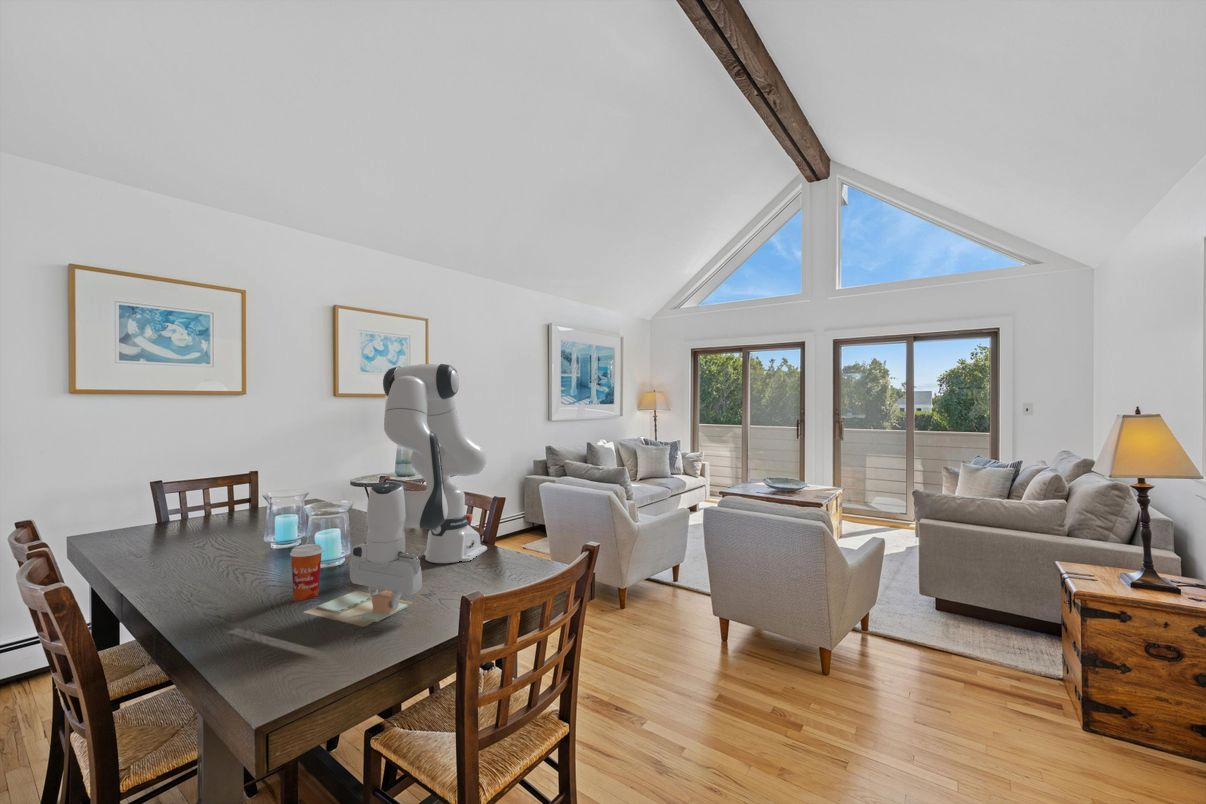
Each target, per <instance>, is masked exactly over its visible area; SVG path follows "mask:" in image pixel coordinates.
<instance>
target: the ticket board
mask: <svg viewBox="0 0 1206 804" xmlns="http://www.w3.org/2000/svg"><path fill="white" fill-rule="evenodd" d="M399 603H401V604H406V605H408V606H410V605H411V604H413V603H414V602H413V601H409V600H403V599H399ZM372 611H373V604H372V597H371V595H370V593H369V592H364V591H359V590H355V591H351V592H349V593H347V594H343V595H342V596H339V597H336V598H334V599H331V600H329V601H327V602H323V603H321V604H319V605H317V606H314V607H312V608H310V609H307V610H305V611H303V613H304V614H309V615H313V616H317V617H320V618H321V617H322V618H324V619H325V618H326V619H329V620H333V621H338V622H342V623H345V624H349V625H354V626H359V627H367V626H368V625H371V624H373V623H375V622H374V621H370V620H366V619H361V616H363V615H365V614H367V613H370V612H372Z"/></svg>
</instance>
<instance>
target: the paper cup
mask: <svg viewBox="0 0 1206 804" xmlns="http://www.w3.org/2000/svg"><path fill="white" fill-rule="evenodd" d="M323 552H324V549H323V547H322V546H321V545H320V544H318V543H315V544H314V543H308V544H301V545H298V546H294V547H293V548H292V549H291V552H290V553H289V555H290V559H291V560H290V561H291V575H292V576H291V577H292V579H291V580H292V594H293V602H297V601H301V600H309V599H313V598H316V597H317V596H318V595H319V591H320V589H319V588H320V580H321V568H322V567H321V565H322V553H323Z"/></svg>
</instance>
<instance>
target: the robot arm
mask: <svg viewBox="0 0 1206 804" xmlns="http://www.w3.org/2000/svg"><path fill="white" fill-rule="evenodd" d="M459 386H460V378H459V374H458V371H457V370H456V368H454V366H452V365H450V364H445V363H444V364H443V363H441V364H433V363H428V364H427V363H420V364H415V365H414V364H413V365H407V366H404V365H403V366H394V367H391V368H389V369H388V370H387V371H386V372H385V374H384V375H383V379H382V387H383V391H384V394H385V395H386V396H387V399H386V402H385V403H386V405H385V410H384V421H383V428H384V429H383V431H384V432H385V434H386V437H387V438H388V439H389V440H390V441H391V442H392V443H394V444H396V445H397V446H399V447H402V448H404V449H407V450H409V451H412V453H411V455H410V462H411V466H412V468H413V469H414V471H415V472H417V473H418V474H419V475H420V476H421V477H422V478H423V480H424V482H425V483H426V489H425V490H404V489H405V488H404V486H403V484H402V483H400V482H397V481H384V482H379V483H376V484H374V485H373V486H372V487H371V488H370V490H369V494H368V499H367V500H368V501H367V506H366V507H367V509H366V524H367V528H368V531H367V535H366V542H363V543H360V544H357V545H354V546H352V547H351V548H350V550H349V551H350V552H349V553H350V556H351V558H350V562H349V579H350V581H351V583H352V584H355V585H361V586H365V587H368V589H367V590H368V593H370V595H371V597H372V604H373V595H376V594H378V593H380V592H379V589H380V590H383V591H385V590H386V591H391V592H392V595H394V597H393V599H392V600H390V601H389V608H393V609H395V608H397V607H398V606H399V600H401V597H402V596H403V594H405V595H413V594H415V593H418V592H420V590H421V589H422V588H423V576H422V567H421V560H420V558H419V557H418V556H416V554H414V553H408V552H406V532H405V529H423V530H429V531H428V534H427V542H426V548H425V549H426V550H425V551H424V553H423V555H424V557H425V558H424V559H425V561H426V562H429V563H435V564H450V563H451V564H452V563H458V562H459V561H462V562H469V561H470V560H471V561H472V560H474V559H475V558H477V557H478V556H480V555H482V554H483V553H484V552H486V551H487V550H488V547H487V546H486V545H484V544H481V536H480V533H479V532H478V531H476V530H475V529H474V528H473V527H471V526H470V525H469V522H468V521H472V520H473V514H471V513H470V514H469V513H467V514H465V512H466V507H465V506H466V494H465V492H464V490H463V489H462V488H461V487H459V486H458V485H456V484H455V483H454V482H453V480H452V479H451V476H460V477H461V476H462V477H466V476H467V477H468V476H474V475H478V474H480V473H482V471H484V468H485V466H486V463H487V455H486V452H485V450H484V448H483V447H482V446H480V445H478V444H477V443H476V442H474V441H473V440H472V439H471V438H470V437H469V436H468V435H467V434H466V432H465V431H464V429H463V428H462V426H461V423H460V420H459V416H458V411H457V407H456V402H455V397H454V396H455V395H456V394H457V393H458V391H459ZM476 556H477V557H476ZM473 558H474V559H473ZM459 563H460V562H459Z"/></svg>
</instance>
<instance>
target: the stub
mask: <svg viewBox="0 0 1206 804" xmlns="http://www.w3.org/2000/svg"><path fill="white" fill-rule="evenodd" d="M393 597H394V595H392V591H389V590H383V591H381V592H379V593H378V594H376V595H373V611H372V612H370V613H367V614H365V615H363V616H361V619H366V620H370V621H374V622H373V623H379V622H380V621H382V620H384V619H386V618H389V617H390V616H392V615H394V614H398V613H399V612H400V611H403V610H404V609H407V608H409V605H406V604H401V603H399V606H398V607H397V608H395V609H393V608H389V601H390V600H392V599H393Z"/></svg>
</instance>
